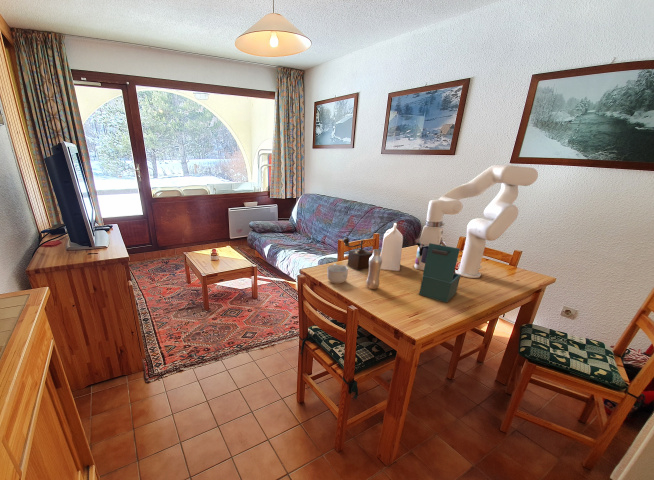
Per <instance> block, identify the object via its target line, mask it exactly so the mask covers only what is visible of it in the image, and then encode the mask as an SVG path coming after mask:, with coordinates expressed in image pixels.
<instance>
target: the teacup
mask: <svg viewBox="0 0 654 480" xmlns="http://www.w3.org/2000/svg"><path fill="white" fill-rule="evenodd" d="M348 270H349V266H347V265H343V264H338V263H333V264H331V265H328V266H327V268H326V271H327V273H326V274H327V280H328V281H330V282H331V283H333V284H343V283H344V282H345V281H347V279H348V274H349V273H348V272H349V271H348Z"/></svg>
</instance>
